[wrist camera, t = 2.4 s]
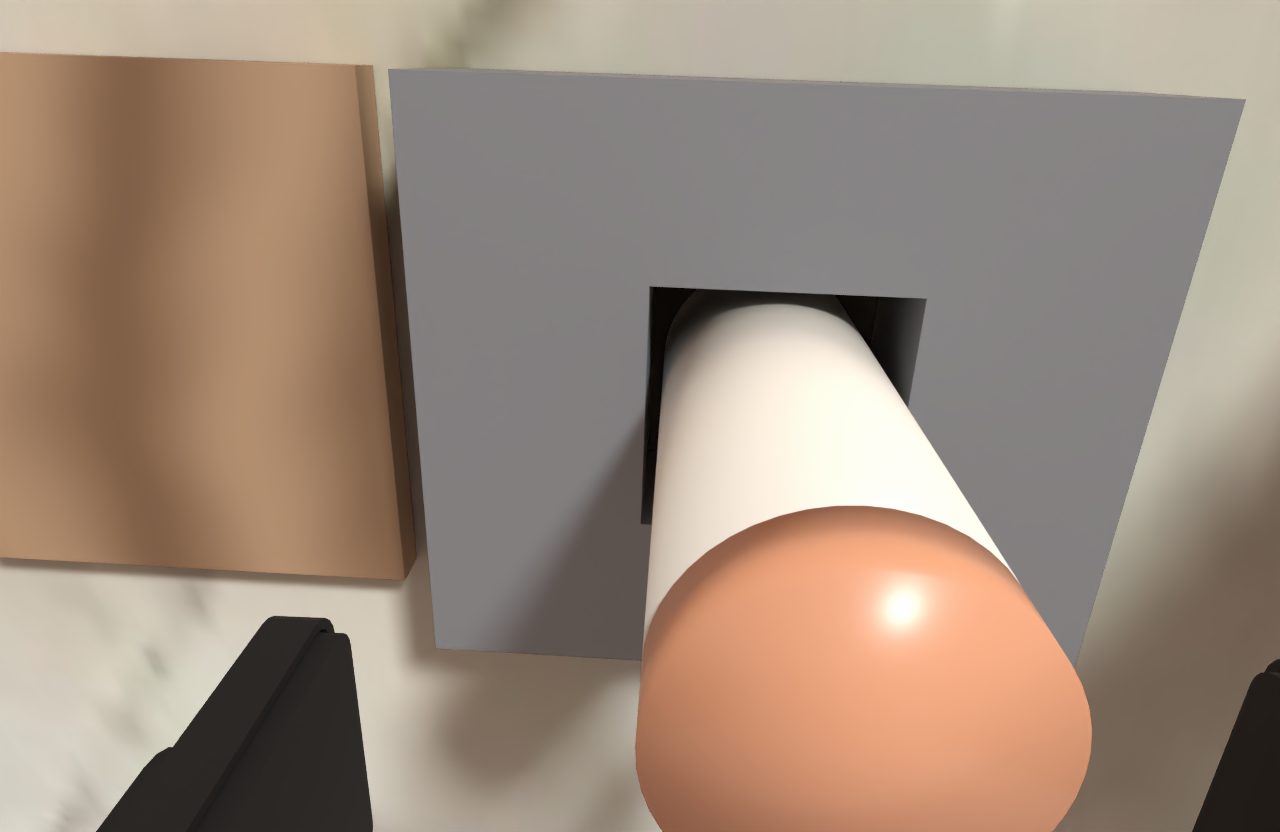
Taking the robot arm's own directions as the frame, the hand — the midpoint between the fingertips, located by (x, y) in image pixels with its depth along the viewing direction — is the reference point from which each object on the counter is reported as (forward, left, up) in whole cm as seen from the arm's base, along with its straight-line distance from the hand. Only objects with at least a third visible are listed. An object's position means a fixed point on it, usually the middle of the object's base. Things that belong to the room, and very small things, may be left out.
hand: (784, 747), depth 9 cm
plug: (-1, 0, -12) cm, 12 cm away
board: (+13, 0, -12) cm, 18 cm away
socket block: (-1, 0, -12) cm, 12 cm away
